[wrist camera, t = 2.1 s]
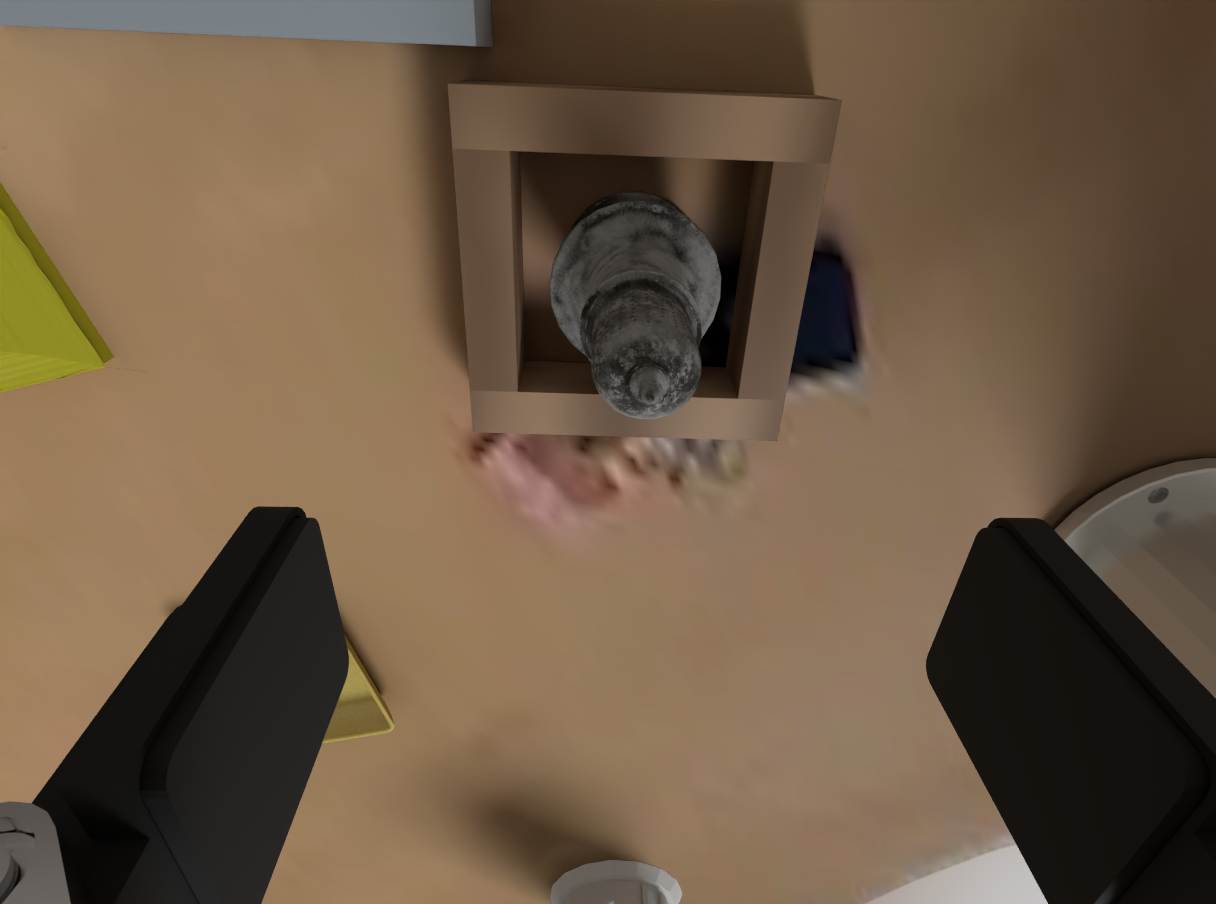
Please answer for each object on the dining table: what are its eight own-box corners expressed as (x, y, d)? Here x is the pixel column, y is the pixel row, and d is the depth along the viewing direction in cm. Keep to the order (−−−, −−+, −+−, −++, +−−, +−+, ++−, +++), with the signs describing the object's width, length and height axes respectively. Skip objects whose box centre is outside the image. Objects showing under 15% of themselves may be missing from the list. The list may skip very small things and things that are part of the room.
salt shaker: (584, 157, 24) (571, 235, 14) (732, 216, 25) (823, 329, 15) (536, 307, 27) (495, 464, 17) (671, 354, 28) (712, 529, 18)
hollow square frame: (815, 95, 23) (841, 100, 21) (761, 406, 29) (777, 440, 27) (464, 80, 23) (447, 83, 20) (484, 398, 29) (473, 432, 26)
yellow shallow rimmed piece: (194, 620, 36) (172, 650, 34) (344, 592, 35) (330, 621, 33) (270, 723, 40) (255, 755, 39) (406, 701, 39) (397, 732, 38)
